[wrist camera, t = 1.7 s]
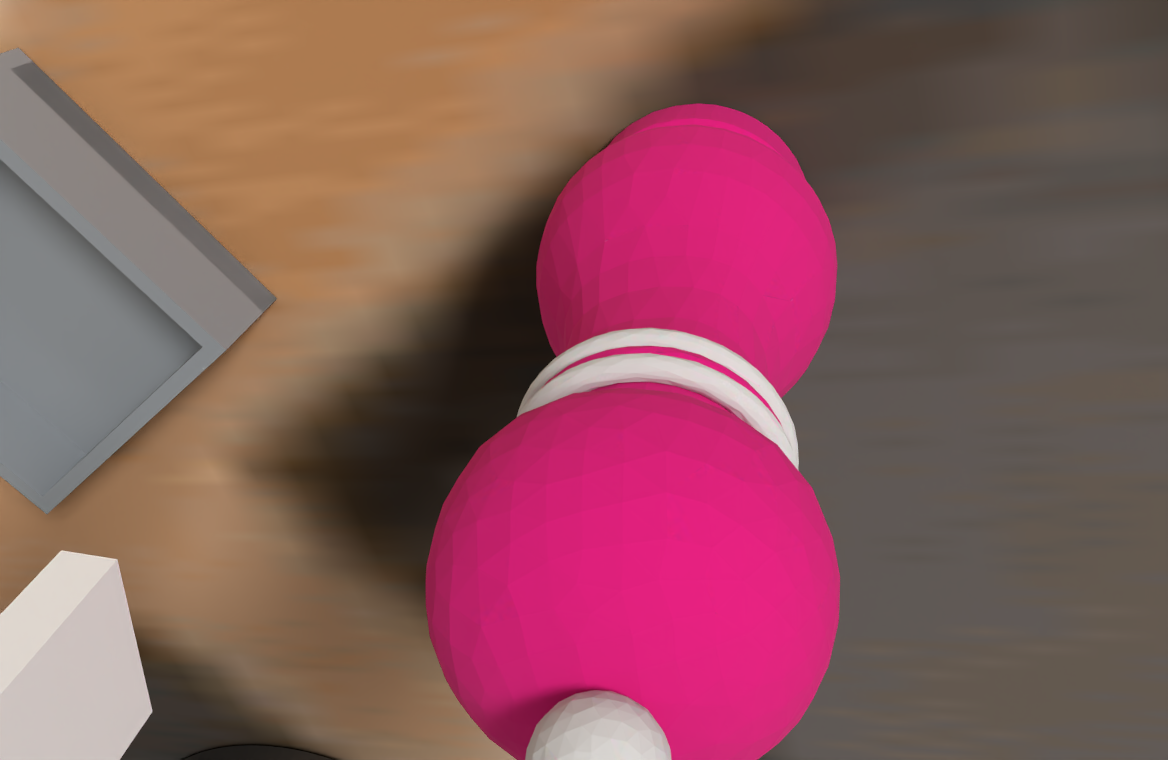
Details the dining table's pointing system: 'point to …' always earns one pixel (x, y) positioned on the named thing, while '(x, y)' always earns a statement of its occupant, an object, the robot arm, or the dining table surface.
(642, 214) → the pepper mill
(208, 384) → the dining table surface
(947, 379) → the dining table surface
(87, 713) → the robot arm
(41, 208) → the tray
